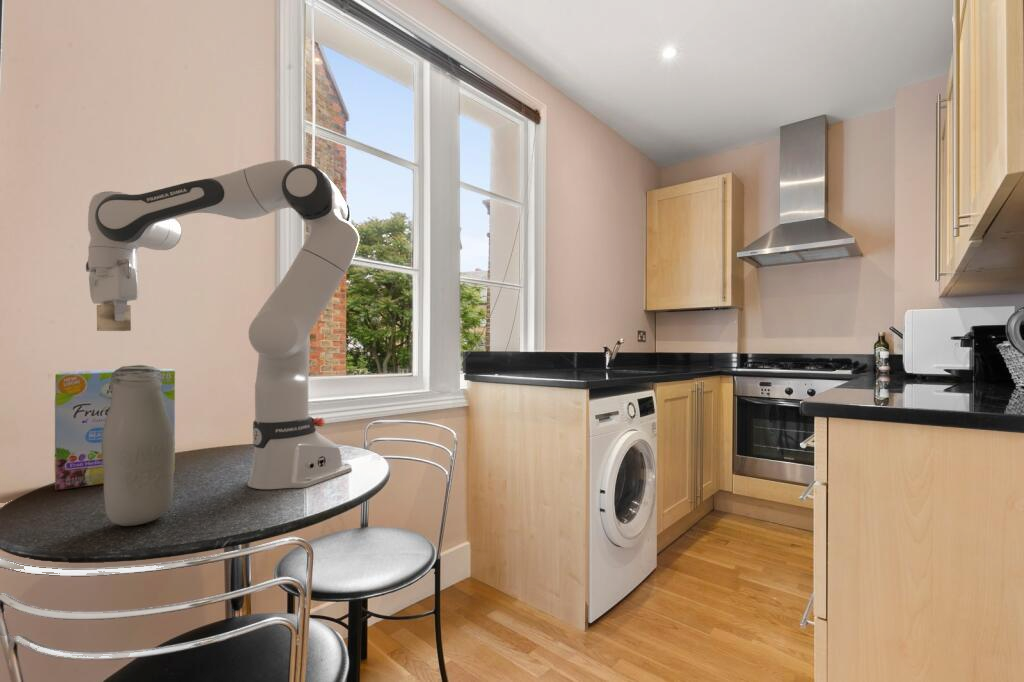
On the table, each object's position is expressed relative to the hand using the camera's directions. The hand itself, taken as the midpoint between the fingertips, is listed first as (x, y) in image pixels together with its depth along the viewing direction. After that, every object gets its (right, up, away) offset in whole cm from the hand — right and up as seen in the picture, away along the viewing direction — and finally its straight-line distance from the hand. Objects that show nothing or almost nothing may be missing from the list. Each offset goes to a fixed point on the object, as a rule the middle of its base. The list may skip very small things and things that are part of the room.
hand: (114, 321), depth 112 cm
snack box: (+1, -37, +1) cm, 37 cm away
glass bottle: (+27, -37, -27) cm, 54 cm away
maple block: (0, -2, 0) cm, 2 cm away
